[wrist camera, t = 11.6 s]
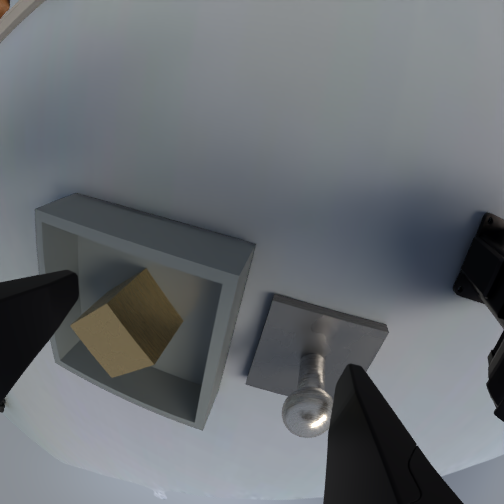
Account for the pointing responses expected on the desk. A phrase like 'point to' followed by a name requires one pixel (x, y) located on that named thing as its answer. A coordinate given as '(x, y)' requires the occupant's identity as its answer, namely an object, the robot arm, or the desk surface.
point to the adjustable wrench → (17, 16)
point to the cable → (2, 406)
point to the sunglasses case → (4, 7)
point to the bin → (170, 282)
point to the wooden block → (129, 325)
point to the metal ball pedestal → (310, 359)
